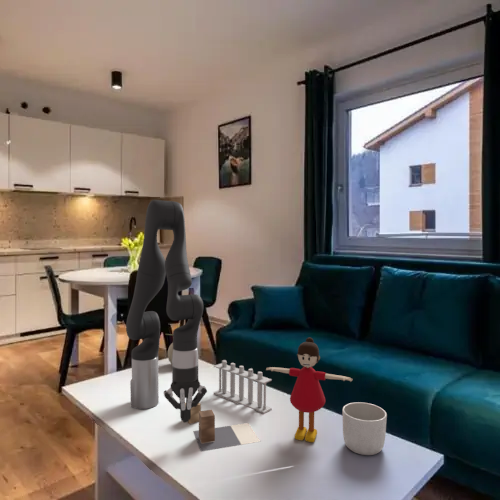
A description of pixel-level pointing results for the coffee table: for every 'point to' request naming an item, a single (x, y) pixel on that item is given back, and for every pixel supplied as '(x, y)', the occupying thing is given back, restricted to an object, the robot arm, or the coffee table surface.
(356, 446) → the planter
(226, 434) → the mat
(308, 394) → the toy
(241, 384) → the test tube rack
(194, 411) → the oak block
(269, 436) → the coffee table surface
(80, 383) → the coffee table surface
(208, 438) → the walnut block
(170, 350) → the fruit
